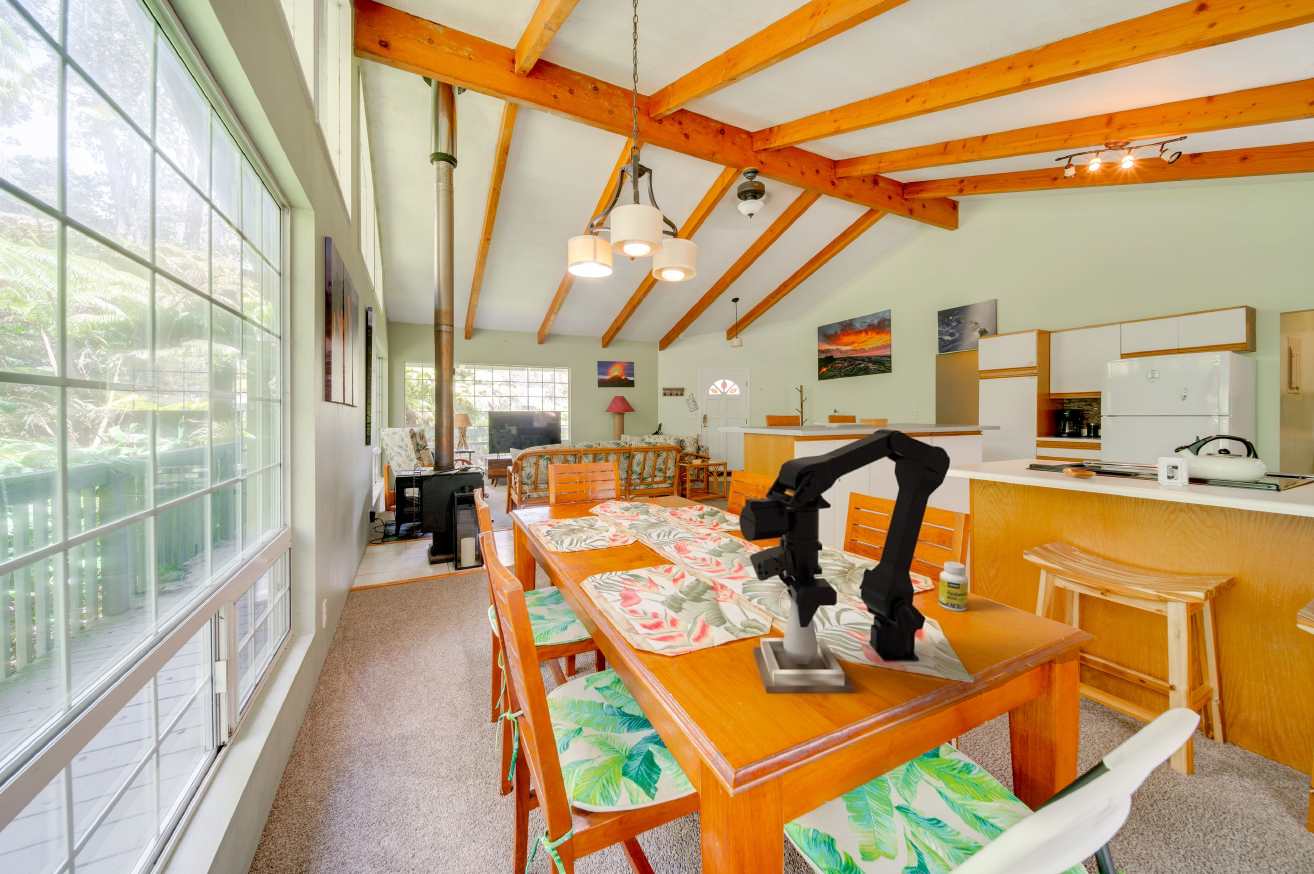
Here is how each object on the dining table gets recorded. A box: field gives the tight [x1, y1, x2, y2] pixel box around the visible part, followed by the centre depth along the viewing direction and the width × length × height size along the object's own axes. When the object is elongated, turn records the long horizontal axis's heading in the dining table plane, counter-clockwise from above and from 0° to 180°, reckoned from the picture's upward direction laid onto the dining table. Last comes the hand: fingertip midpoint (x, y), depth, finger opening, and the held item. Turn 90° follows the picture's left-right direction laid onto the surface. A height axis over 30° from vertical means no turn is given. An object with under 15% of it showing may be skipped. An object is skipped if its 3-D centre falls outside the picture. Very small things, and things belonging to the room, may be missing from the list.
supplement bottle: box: [938, 561, 969, 612], centre depth 106 cm, size 5×5×10 cm
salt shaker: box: [783, 585, 818, 664], centre depth 82 cm, size 6×6×13 cm
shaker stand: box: [752, 637, 854, 694], centre depth 82 cm, size 14×12×3 cm
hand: (800, 622), depth 82 cm, fingers closed on salt shaker, 3 cm apart
